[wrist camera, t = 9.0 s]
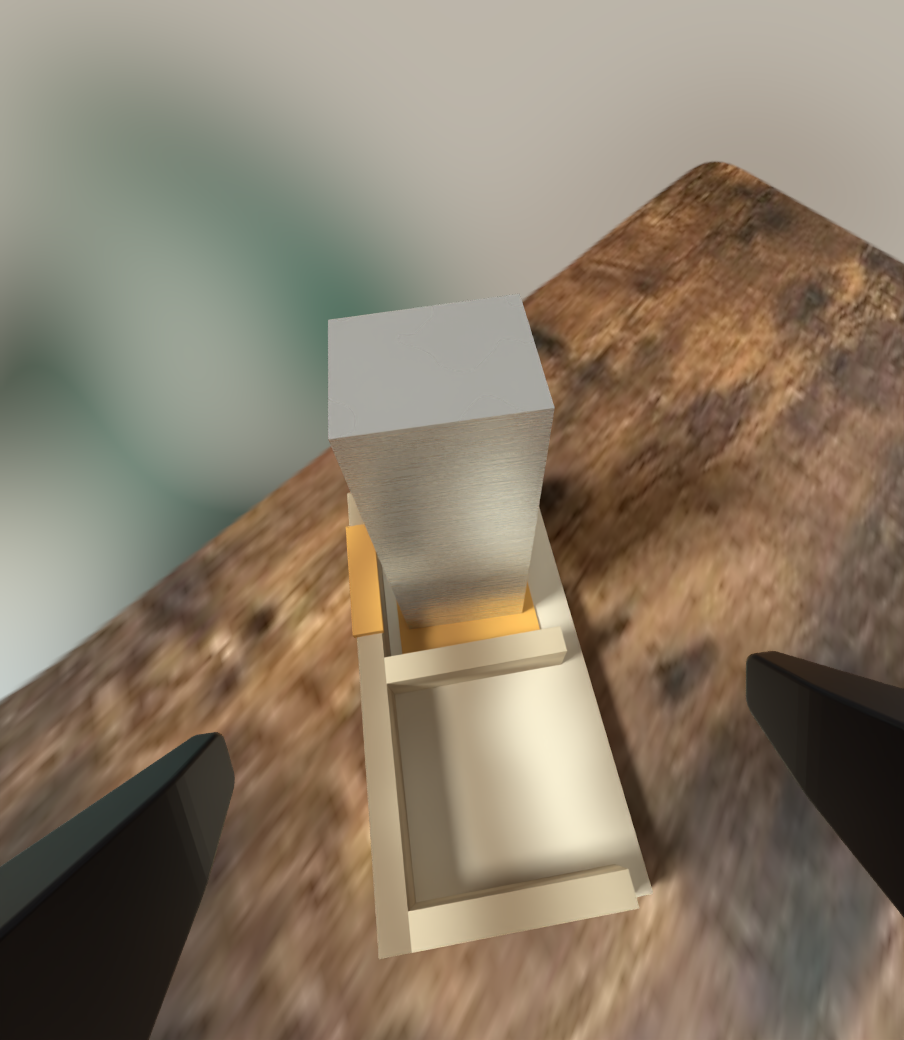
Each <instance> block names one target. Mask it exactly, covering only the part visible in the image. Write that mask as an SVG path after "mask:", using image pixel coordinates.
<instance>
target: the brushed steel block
mask: <svg viewBox="0 0 904 1040" xmlns="http://www.w3.org/2000/svg"><path fill="white" fill-rule="evenodd" d="M553 414H554V405H553V402H552V398H551V395H550V392H549V388H548V385H547V382H546V379H545V375H544V372H543V369H542V366H541V362H540V359H539V356H538V353H537V349H536V346H535V343H534V339H533V336H532V333H531V330H530V326H529V323H528V320H527V317H526V313H525V310H524V307H523V303H522V300H521V297H520V294H514V295H506V296H499V297H492V298H484V299H478V300H470V301H463V302H456V303H448V304H441V305H433V306H426V307H419V308H411V309H404V310H397V311H389V312H382V313H375V314H368V315H360V316H353V317H346V318H339V319H331V320H328V440H329V442H330V444H331V447H332V449H333V451H334V454H335V456H336V459H337V461H338V463H339V466H340V468H341V470H342V473H343V475H344V477H345V480H346V482H347V484H348V487H349V489H350V491H351V494H352V496H353V499H354V501H355V503H356V506H357V508H358V510H359V513H360V515H361V517H362V520H363V522H364V524H365V527H366V529H367V531H368V534H369V536H370V539H371V541H372V543H373V546H374V548H375V550H376V553H377V555H378V557H379V560H380V562H381V564H382V567H383V569H384V571H385V574H386V576H387V579H388V581H389V583H390V586H391V588H392V590H393V593H394V595H395V597H396V600H397V602H398V604H399V607H400V609H401V611H402V614H403V616H404V619H405V621H406V623H407V626H408V628H409V629H416V628H423V627H430V626H437V625H444V624H451V623H458V622H465V621H472V620H479V619H486V618H493V617H500V616H507V615H514V614H521V613H522V610H523V604H524V598H525V591H526V585H527V579H528V572H529V566H530V560H531V553H532V547H533V541H534V534H535V528H536V522H537V515H538V509H539V503H540V496H541V490H542V484H543V477H544V471H545V465H546V458H547V452H548V446H549V439H550V433H551V427H552V420H553Z"/></svg>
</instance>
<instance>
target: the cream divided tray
mask: <svg viewBox="0 0 904 1040" xmlns="http://www.w3.org/2000/svg"><path fill="white" fill-rule="evenodd" d="M347 496H348V511H349V527H346V536H347V552H348V567H349V583H350V599H351V615H352V630H353V636H354V638H356V637H357V644H358V659H359V674H360V689H361V703H362V718H363V733H364V748H365V763H366V777H367V792H368V807H369V822H370V837H371V851H372V866H373V881H374V896H375V911H376V925H377V940H378V955H379V959H382V958H388V957H393V956H398V955H403V954H408V953H413V952H418V951H423V950H429V949H434V948H439V947H444V946H449V945H454V944H459V943H464V942H470V941H475V940H480V939H485V938H490V937H495V936H500V935H506V934H511V933H516V932H521V931H526V930H531V929H536V928H541V927H547V926H552V925H557V924H562V923H567V922H572V921H577V920H582V919H588V918H593V917H598V916H603V915H608V914H613V913H618V912H624V911H629V910H634V909H639V905H638V901H637V898H636V897H640V896H645V895H650V894H653V891H652V888H651V884H650V881H649V877H648V874H647V871H646V867H645V864H644V861H643V857H642V854H641V850H640V847H639V844H638V840H637V837H636V833H635V830H634V827H633V823H632V820H631V817H630V813H629V810H628V806H627V803H626V800H625V796H624V793H623V789H622V786H621V783H620V779H619V776H618V773H617V769H616V766H615V762H614V759H613V756H612V752H611V749H610V745H609V742H608V739H607V735H606V732H605V729H604V725H603V722H602V718H601V715H600V712H599V708H598V705H597V701H596V698H595V695H594V691H593V688H592V685H591V681H590V678H589V674H588V671H587V668H586V664H585V661H584V657H583V654H582V651H581V647H580V644H579V641H578V637H577V634H576V630H575V627H574V624H573V620H572V617H571V613H570V610H569V607H568V603H567V600H566V596H565V593H564V590H563V586H562V583H561V580H560V576H559V573H558V569H557V566H556V563H555V559H554V556H553V552H552V549H551V546H550V542H549V539H548V536H547V532H546V529H545V525H544V522H543V519H542V515H541V512H540V508H539V509H538V515H537V522H536V528H535V534H534V541H533V547H532V553H531V560H530V566H529V572H528V579H527V585H526V591H525V598H524V604H523V610H522V613H521V614H514V615H507V616H500V617H493V618H486V619H479V620H472V621H465V622H458V623H451V624H444V625H437V626H430V627H423V628H416V629H409V628H408V626H407V623H406V621H405V619H404V616H403V614H402V611H401V609H400V607H399V604H398V602H397V600H396V597H395V595H394V593H393V590H392V588H391V586H390V583H389V581H388V579H387V576H386V574H385V571H384V569H383V567H382V564H381V562H380V560H379V557H378V555H377V553H376V550H375V548H374V546H373V543H372V541H371V539H370V536H369V534H368V531H367V529H366V527H365V524H364V522H363V520H362V517H361V515H360V513H359V510H358V508H357V506H356V503H355V501H354V499H353V496H352V494H351V493H347Z"/></svg>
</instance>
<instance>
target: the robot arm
mask: <svg viewBox="0 0 904 1040" xmlns="http://www.w3.org/2000/svg"><path fill="white" fill-rule="evenodd" d="M746 701H747V705H748V707H749V710H750V712H751V713H752V715H753V716H754V718H755V719H756V721H757V722H758V724H759V725H760V727H761V729H762V730H763V732H764V733H765V735H766V736H767V738H768V739H769V741H770V742H771V744H772V745H773V747H774V748H775V750H776V751H777V753H778V754H779V756H780V757H781V759H782V760H783V762H784V763H785V765H786V766H787V768H788V769H789V771H790V772H791V774H792V775H793V777H794V779H795V780H796V781H797V783H798V784H799V786H800V787H801V789H802V790H803V791H804V793H805V794H806V796H807V797H808V798H809V799H810V801H811V802H812V803H813V805H814V806H815V807H816V809H817V810H818V811H819V812H820V814H821V815H822V816H823V817H824V819H825V820H826V821H827V822H828V824H829V825H830V826H831V827H832V829H833V830H834V831H835V832H836V833H837V835H838V836H839V837H840V838H841V840H842V841H843V842H844V843H845V845H846V846H847V847H848V848H849V850H850V851H851V852H852V853H853V855H854V856H855V857H856V858H857V860H858V861H859V862H860V863H861V865H862V866H863V867H864V868H865V870H866V871H867V872H868V873H869V875H870V876H871V877H872V878H873V880H874V881H875V882H876V883H877V885H878V886H879V887H880V888H881V890H882V891H883V892H884V893H885V895H886V896H887V897H888V898H889V900H890V901H891V902H892V903H893V905H894V906H895V907H896V908H897V910H898V911H899V912H900V913H901V915H902V916H903V917H904V689H902V688H898V687H895V686H891V685H888V684H885V683H881V682H878V681H874V680H871V679H868V678H864V677H861V676H858V675H854V674H851V673H847V672H844V671H841V670H837V669H834V668H830V667H827V666H824V665H820V664H817V663H813V662H810V661H807V660H803V659H800V658H797V657H793V656H790V655H786V654H783V653H780V652H776V651H768V652H761V653H754V654H751V655H750V656H749V657H748V658H747V661H746ZM234 779H235V778H234V771H233V767H232V764H231V760H230V757H229V753H228V750H227V746H226V743H225V740H224V737H223V736H222V734H220V733H218V732H213V733H206V734H200V735H195V736H193V737H191V738H190V739H188V740H187V741H186V742H184V743H183V744H181V745H180V746H178V747H177V748H175V749H174V750H172V751H171V752H169V753H168V754H166V755H165V756H163V757H162V758H160V759H159V760H157V761H156V762H154V763H153V764H152V765H150V766H149V767H147V768H146V769H144V770H143V771H141V772H140V773H138V774H137V775H135V776H134V777H132V778H131V779H129V780H128V781H126V782H125V783H123V784H122V785H120V786H119V787H118V788H116V789H115V790H113V791H112V792H110V793H109V794H107V795H106V796H104V797H103V798H101V799H100V800H98V801H97V802H95V803H94V804H92V805H91V806H89V807H88V808H86V809H85V810H83V811H82V812H81V813H79V814H78V815H76V816H75V817H73V818H72V819H70V820H69V821H67V822H66V823H64V824H63V825H61V826H60V827H58V828H57V829H55V830H54V831H52V832H51V833H49V834H48V835H47V836H45V837H44V838H42V839H41V840H39V841H38V842H36V843H35V844H33V845H32V846H30V847H29V848H27V849H26V850H24V851H23V852H21V853H20V854H18V855H17V856H15V857H14V858H13V859H11V860H10V861H8V862H7V863H5V864H4V865H2V866H1V867H0V1040H149V1038H150V1035H151V1032H152V1030H153V1027H154V1024H155V1022H156V1019H157V1016H158V1014H159V1011H160V1008H161V1006H162V1003H163V1001H164V998H165V995H166V993H167V990H168V987H169V985H170V982H171V979H172V977H173V974H174V971H175V969H176V966H177V963H178V961H179V958H180V955H181V953H182V950H183V947H184V945H185V942H186V940H187V937H188V934H189V932H190V929H191V926H192V924H193V921H194V918H195V916H196V913H197V910H198V908H199V905H200V902H201V900H202V897H203V894H204V891H205V888H206V886H207V883H208V880H209V876H210V873H211V870H212V866H213V863H214V859H215V855H216V852H217V848H218V844H219V840H220V837H221V833H222V829H223V826H224V822H225V818H226V815H227V811H228V807H229V804H230V800H231V796H232V793H233V789H234Z"/></svg>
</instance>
